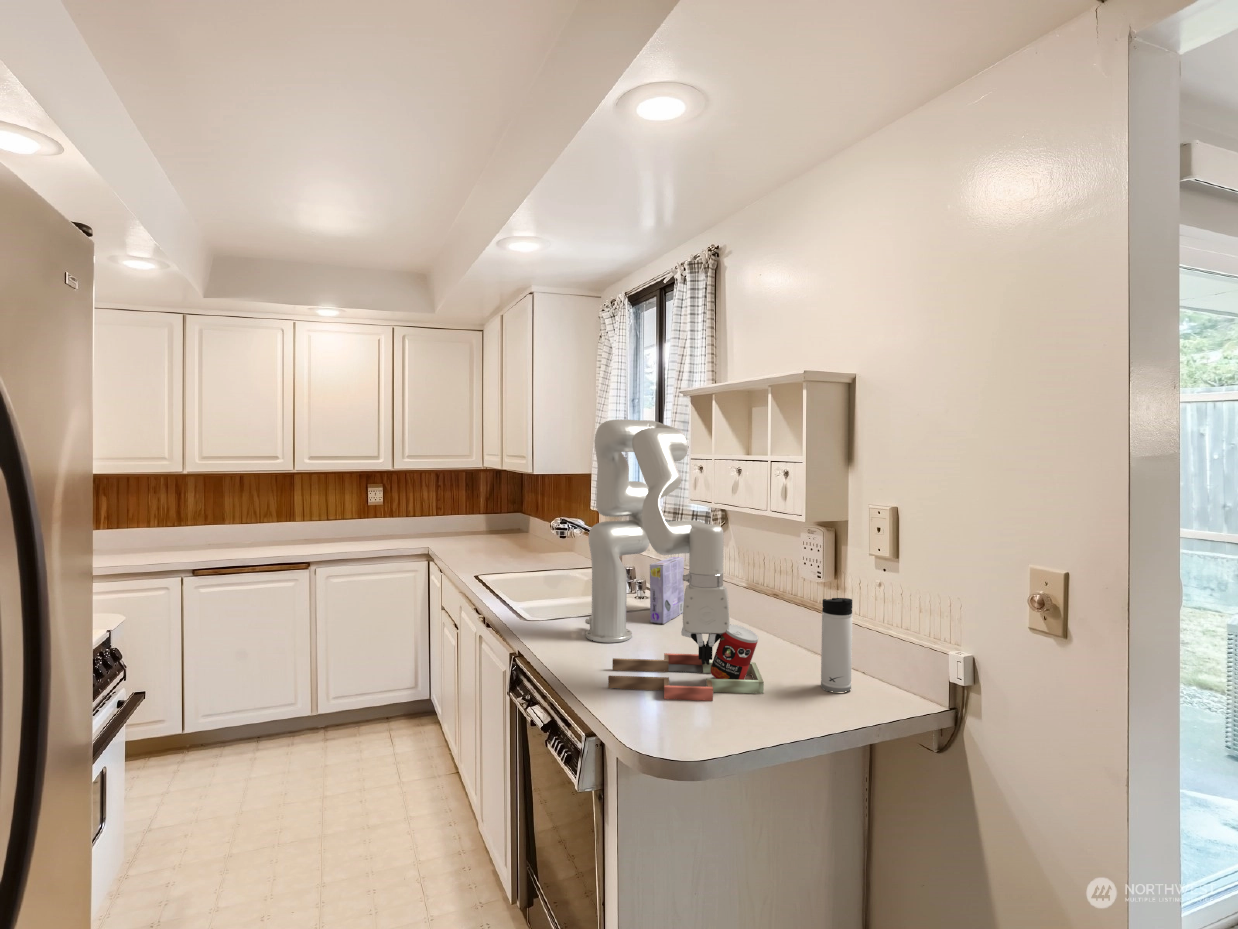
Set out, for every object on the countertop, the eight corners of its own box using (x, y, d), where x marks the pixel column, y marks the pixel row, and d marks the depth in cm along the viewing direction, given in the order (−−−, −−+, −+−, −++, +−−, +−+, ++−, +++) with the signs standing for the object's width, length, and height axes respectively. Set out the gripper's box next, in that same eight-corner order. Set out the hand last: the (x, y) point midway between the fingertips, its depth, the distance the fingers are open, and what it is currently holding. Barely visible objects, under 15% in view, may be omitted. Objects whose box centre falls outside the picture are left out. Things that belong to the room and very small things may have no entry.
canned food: (703, 672, 149) (718, 626, 147) (719, 665, 156) (734, 621, 154) (733, 689, 145) (749, 643, 143) (748, 681, 151) (764, 636, 150)
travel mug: (835, 696, 142) (837, 601, 142) (814, 685, 148) (816, 595, 148) (858, 692, 145) (860, 599, 144) (837, 682, 151) (838, 592, 150)
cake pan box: (671, 609, 217) (672, 554, 217) (686, 611, 215) (686, 556, 215) (648, 623, 200) (648, 564, 200) (663, 625, 198) (664, 565, 197)
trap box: (606, 697, 141) (606, 685, 140) (614, 662, 163) (614, 652, 163) (767, 702, 138) (767, 690, 138) (752, 666, 161) (752, 655, 161)
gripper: (672, 583, 147) (671, 667, 147) (742, 584, 146) (741, 669, 146) (671, 576, 154) (671, 656, 155) (738, 577, 153) (737, 658, 154)
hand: (705, 662), depth 150 cm, fingers closed
